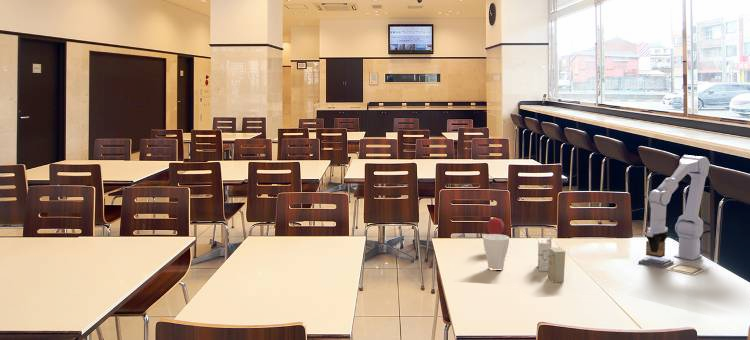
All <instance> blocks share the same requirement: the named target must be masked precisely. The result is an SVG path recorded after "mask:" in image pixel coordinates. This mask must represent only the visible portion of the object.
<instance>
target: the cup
mask: <svg viewBox="0 0 750 340" xmlns="http://www.w3.org/2000/svg"><path fill="white" fill-rule="evenodd" d="M482 240H483V246H484V247H483V248H484V252H485V255H486V260H487V268H488V267H489V268H492V269H503V270H504V266H505V261H506V260H505V259H506V256H507V254H508V249H509V243H510V237H509V236H508V235H505V234H502V233H501V234H491V233H489V234H485V235H483V236H482Z"/></svg>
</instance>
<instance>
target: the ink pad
mask: <svg viewBox="0 0 750 340" xmlns="http://www.w3.org/2000/svg"><path fill="white" fill-rule="evenodd" d="M638 264H639V265H643V266H648V267H653V268H658V269H664V268H668V267H671V266H673V265H674V260H671V259H669V258H664V257H661V258H659V257H653V256H647V257H644V258H642V259H639V260H638Z"/></svg>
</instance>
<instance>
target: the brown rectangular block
mask: <svg viewBox="0 0 750 340" xmlns="http://www.w3.org/2000/svg"><path fill="white" fill-rule="evenodd" d="M665 253H666V241H665V242H663V241H659V244H658V250H657V252H651V248H650V244H649V241H648V240H646V243H645V255H646V256H647V257H649V256H653V257H659V258H664V257H665V255H666V254H665Z"/></svg>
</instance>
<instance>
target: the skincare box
mask: <svg viewBox="0 0 750 340" xmlns="http://www.w3.org/2000/svg"><path fill="white" fill-rule="evenodd" d="M565 262H566V251H565V250H564V249H562V248H560V247H551V248H549V261H548V272H547V278H548V279H549V280H550V281H551V282H552V283H564V282H565V281H564V280H565V279H564V278H565Z"/></svg>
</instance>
